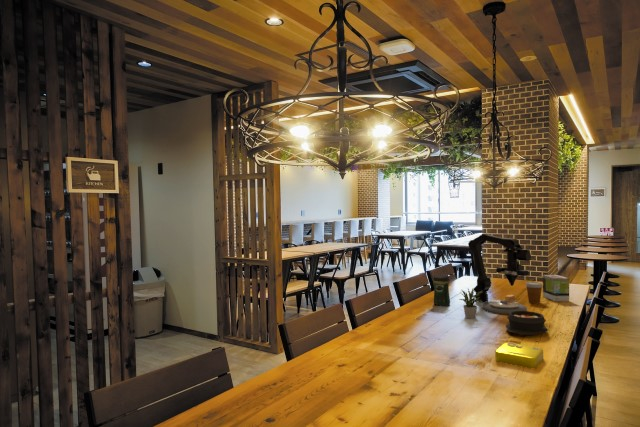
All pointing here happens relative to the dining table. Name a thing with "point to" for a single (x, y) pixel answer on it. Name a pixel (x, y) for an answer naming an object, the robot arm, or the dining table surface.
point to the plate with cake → (505, 303)
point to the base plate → (501, 310)
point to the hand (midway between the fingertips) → (512, 285)
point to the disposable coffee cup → (534, 291)
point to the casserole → (526, 323)
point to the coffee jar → (441, 290)
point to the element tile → (519, 355)
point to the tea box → (556, 287)
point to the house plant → (470, 304)
